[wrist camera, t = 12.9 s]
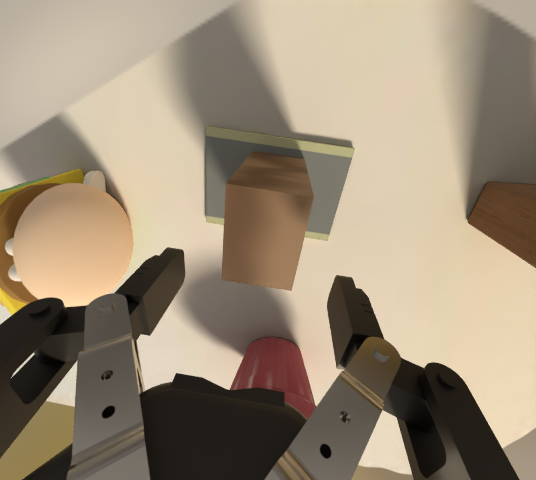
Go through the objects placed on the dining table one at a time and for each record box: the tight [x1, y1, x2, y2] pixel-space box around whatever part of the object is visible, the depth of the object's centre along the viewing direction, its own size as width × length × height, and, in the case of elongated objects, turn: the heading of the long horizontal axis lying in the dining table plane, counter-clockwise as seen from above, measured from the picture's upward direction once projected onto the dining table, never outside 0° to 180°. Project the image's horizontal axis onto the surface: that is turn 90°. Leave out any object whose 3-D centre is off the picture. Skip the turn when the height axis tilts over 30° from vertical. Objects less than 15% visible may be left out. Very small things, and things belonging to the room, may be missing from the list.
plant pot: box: [230, 337, 317, 420], centre depth 34 cm, size 14×14×13 cm
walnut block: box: [222, 151, 314, 291], centre depth 20 cm, size 5×7×11 cm
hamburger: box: [0, 170, 133, 315], centre depth 24 cm, size 12×8×12 cm
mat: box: [206, 126, 355, 241], centre depth 25 cm, size 14×10×1 cm
